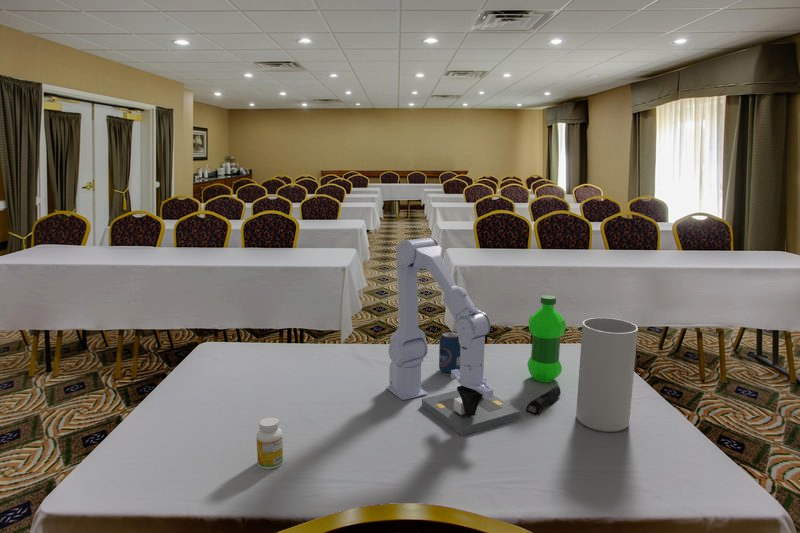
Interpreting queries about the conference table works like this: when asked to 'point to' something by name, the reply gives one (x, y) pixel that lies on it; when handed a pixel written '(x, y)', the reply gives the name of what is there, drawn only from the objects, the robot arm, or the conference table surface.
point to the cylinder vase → (606, 373)
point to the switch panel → (485, 416)
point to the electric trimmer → (543, 401)
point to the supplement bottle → (269, 444)
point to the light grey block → (459, 406)
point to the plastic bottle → (546, 341)
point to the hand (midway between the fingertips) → (470, 414)
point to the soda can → (449, 352)
